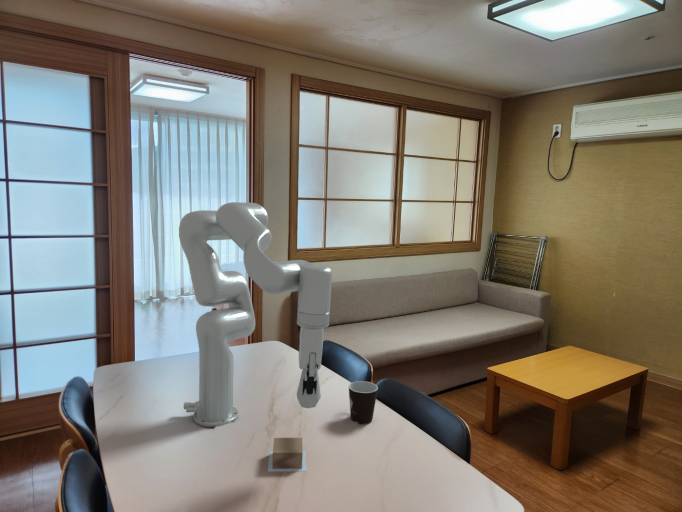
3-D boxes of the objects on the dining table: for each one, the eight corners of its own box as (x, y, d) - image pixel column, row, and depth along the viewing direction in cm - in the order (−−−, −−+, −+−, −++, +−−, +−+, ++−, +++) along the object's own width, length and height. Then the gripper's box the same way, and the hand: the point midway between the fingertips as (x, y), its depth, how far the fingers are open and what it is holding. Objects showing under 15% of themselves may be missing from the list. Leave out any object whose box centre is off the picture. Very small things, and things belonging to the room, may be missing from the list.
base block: (272, 468, 110) (272, 452, 110) (273, 452, 117) (274, 437, 117) (301, 468, 111) (302, 452, 111) (301, 452, 118) (302, 437, 117)
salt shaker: (295, 398, 115) (298, 348, 113) (319, 399, 116) (322, 348, 114) (296, 409, 109) (299, 356, 107) (320, 410, 110) (324, 357, 108)
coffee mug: (374, 427, 134) (375, 394, 132) (344, 423, 135) (346, 390, 134) (378, 410, 145) (380, 379, 144) (351, 406, 147) (353, 376, 145)
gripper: (296, 308, 117) (292, 378, 119) (298, 327, 101) (293, 408, 103) (326, 309, 118) (321, 379, 120) (332, 328, 102) (327, 408, 104)
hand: (308, 391), depth 112 cm, fingers closed on salt shaker, 3 cm apart
